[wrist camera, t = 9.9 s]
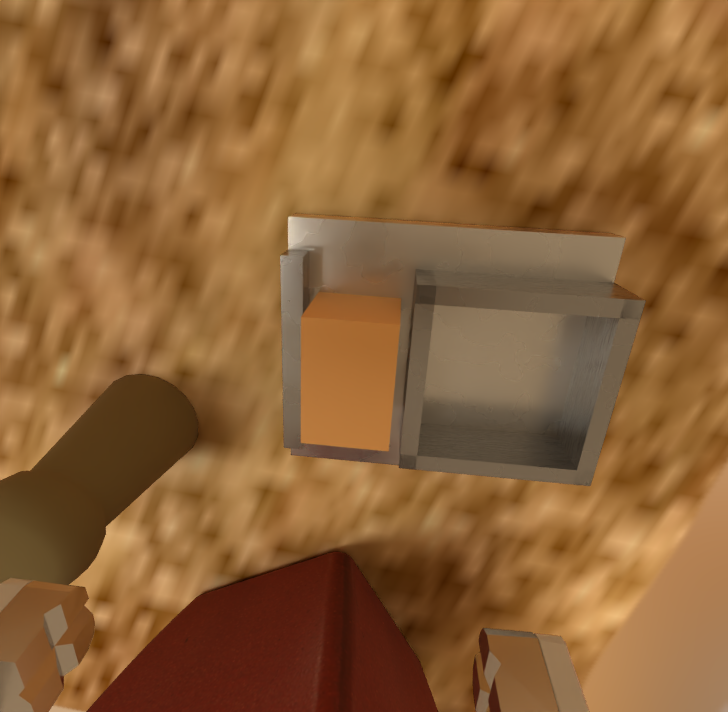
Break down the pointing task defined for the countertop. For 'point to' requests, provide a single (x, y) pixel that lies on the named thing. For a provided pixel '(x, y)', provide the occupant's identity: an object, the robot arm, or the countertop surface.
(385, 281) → the grey tray with frame
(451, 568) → the countertop surface
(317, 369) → the bracket block
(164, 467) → the cork
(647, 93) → the countertop surface
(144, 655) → the plant pot
